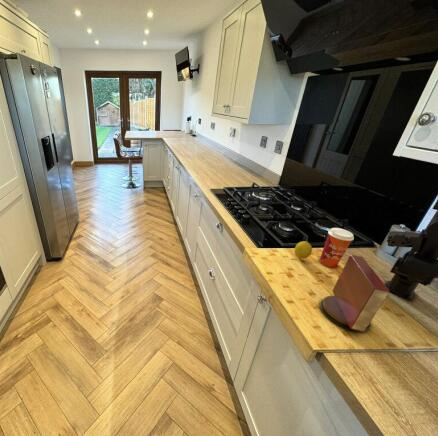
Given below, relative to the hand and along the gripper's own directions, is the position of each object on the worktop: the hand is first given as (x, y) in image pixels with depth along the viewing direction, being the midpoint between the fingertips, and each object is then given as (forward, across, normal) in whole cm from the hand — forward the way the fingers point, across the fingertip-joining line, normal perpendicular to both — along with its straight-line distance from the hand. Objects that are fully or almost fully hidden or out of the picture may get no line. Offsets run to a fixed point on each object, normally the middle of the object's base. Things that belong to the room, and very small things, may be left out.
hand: (409, 280), depth 65 cm
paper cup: (+12, -13, -20) cm, 27 cm away
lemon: (+12, -7, -28) cm, 31 cm away
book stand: (+12, +13, -8) cm, 19 cm away
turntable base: (+12, +13, -8) cm, 19 cm away
